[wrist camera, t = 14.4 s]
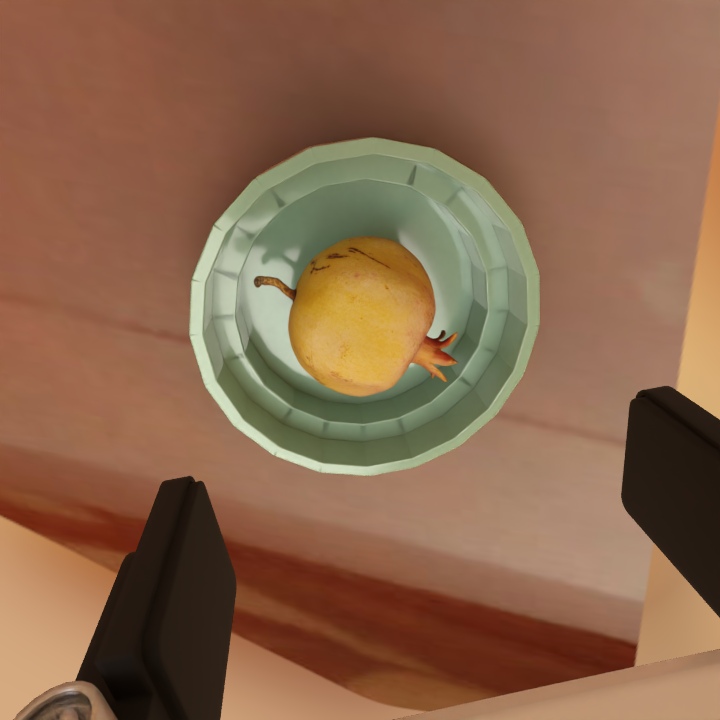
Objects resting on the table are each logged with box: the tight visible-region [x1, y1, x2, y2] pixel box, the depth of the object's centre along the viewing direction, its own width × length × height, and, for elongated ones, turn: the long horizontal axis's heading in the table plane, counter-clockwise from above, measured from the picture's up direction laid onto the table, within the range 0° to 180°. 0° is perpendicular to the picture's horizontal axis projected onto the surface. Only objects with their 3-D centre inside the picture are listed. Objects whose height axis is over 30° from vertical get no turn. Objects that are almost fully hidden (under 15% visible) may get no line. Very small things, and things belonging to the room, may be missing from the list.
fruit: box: [254, 236, 458, 397], centre depth 23 cm, size 7×7×10 cm
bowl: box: [189, 137, 540, 476], centre depth 24 cm, size 15×15×5 cm
